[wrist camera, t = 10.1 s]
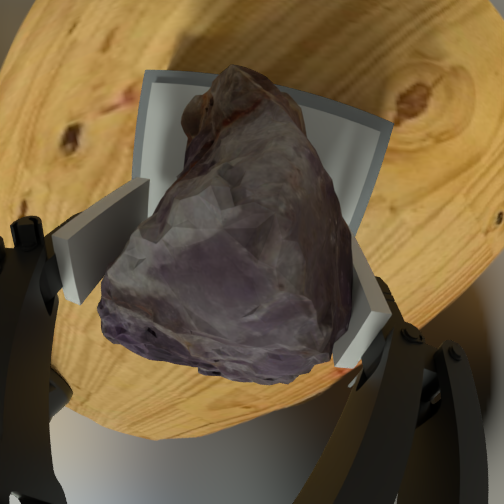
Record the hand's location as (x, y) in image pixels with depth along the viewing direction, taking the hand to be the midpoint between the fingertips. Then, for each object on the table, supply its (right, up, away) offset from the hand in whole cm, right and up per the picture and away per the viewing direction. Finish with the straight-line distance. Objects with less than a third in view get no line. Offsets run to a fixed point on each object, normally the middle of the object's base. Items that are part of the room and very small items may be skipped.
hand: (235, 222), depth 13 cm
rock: (0, 0, +1) cm, 1 cm away
